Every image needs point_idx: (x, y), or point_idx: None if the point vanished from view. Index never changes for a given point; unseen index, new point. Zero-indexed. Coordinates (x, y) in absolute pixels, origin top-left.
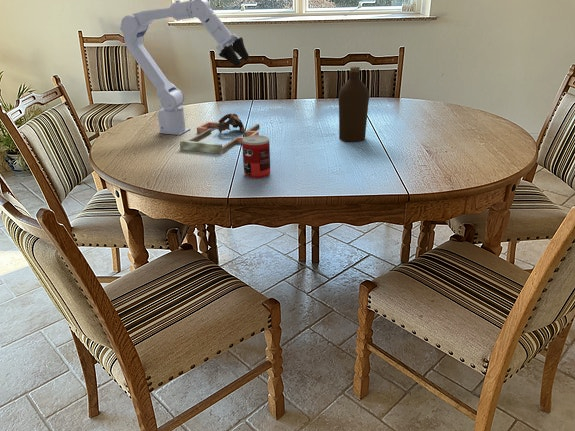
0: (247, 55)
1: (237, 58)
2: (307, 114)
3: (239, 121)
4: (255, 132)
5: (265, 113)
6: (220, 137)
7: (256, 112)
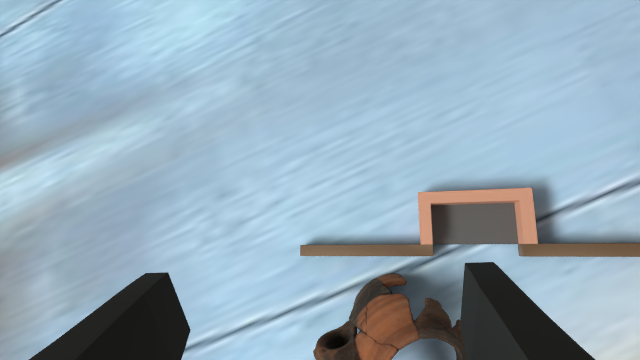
0: (148, 294)
1: (548, 321)
2: (111, 147)
3: (400, 295)
4: (435, 199)
5: None
6: None
7: None
